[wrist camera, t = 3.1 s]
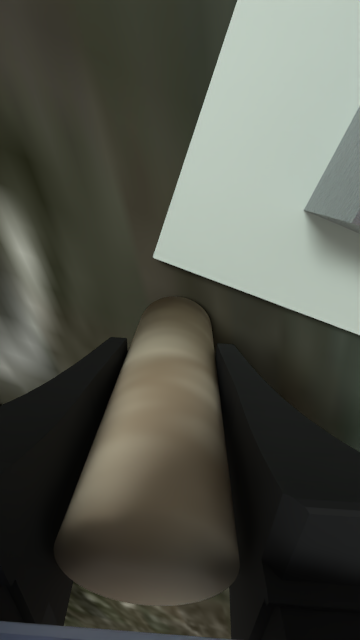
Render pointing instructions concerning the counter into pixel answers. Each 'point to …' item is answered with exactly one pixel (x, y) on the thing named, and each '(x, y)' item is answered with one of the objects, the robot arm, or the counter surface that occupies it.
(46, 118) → the counter surface
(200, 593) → the rail post
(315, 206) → the grey square socket
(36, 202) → the counter surface
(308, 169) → the mounting board
